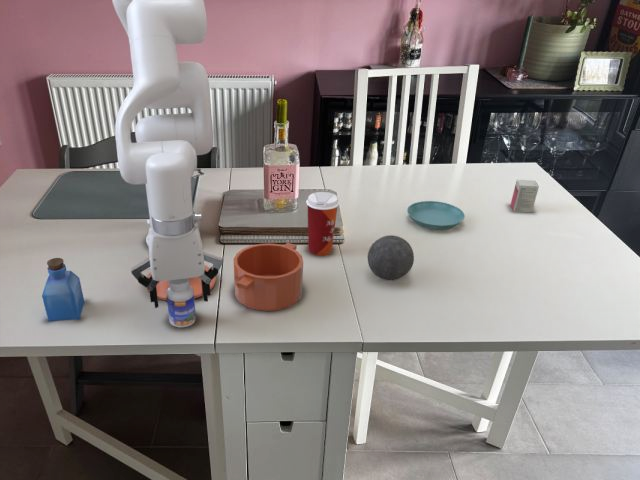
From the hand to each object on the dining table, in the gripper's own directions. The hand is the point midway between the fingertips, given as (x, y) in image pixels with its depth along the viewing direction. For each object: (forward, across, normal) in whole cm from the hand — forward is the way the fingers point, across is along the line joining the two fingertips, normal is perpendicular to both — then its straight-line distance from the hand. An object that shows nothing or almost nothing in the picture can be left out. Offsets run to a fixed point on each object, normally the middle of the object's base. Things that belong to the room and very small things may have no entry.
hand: (180, 301), depth 112 cm
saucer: (+5, -70, -31) cm, 77 cm away
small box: (+5, -97, -32) cm, 102 cm away
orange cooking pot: (+5, -19, -7) cm, 21 cm away
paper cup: (+5, -36, -22) cm, 43 cm away
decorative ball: (+5, -47, -7) cm, 48 cm away
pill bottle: (+5, 0, -1) cm, 5 cm away
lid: (+4, -1, -14) cm, 15 cm away
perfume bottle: (+5, +23, -9) cm, 25 cm away
